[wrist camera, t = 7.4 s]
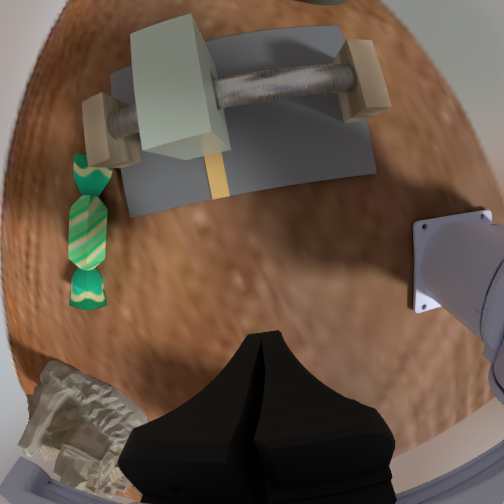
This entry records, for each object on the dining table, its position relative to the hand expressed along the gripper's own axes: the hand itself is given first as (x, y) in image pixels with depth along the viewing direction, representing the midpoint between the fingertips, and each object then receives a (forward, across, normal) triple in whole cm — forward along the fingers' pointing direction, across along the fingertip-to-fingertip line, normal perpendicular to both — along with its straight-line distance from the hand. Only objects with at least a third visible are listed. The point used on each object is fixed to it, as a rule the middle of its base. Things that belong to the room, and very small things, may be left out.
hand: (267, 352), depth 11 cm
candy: (+11, +13, -6) cm, 18 cm away
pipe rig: (+10, 0, -12) cm, 16 cm away
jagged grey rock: (+11, +24, +16) cm, 31 cm away
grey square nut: (+8, +2, -12) cm, 15 cm away
